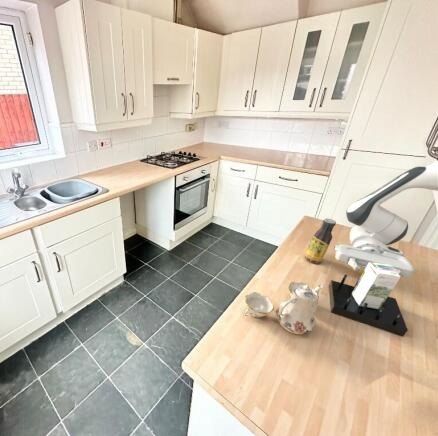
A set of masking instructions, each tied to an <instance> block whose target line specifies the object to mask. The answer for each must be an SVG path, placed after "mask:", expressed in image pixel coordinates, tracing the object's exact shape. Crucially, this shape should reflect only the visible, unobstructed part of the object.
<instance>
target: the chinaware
mask: <svg viewBox="0 0 438 436" xmlns="http://www.w3.org/2000/svg"><path fill="white" fill-rule="evenodd" d="M287 289H288V292H289V295H290V298H288V299H287V300H286V301H282V302H281V303H280V304H279V305H278V308H277V309H276V310H275V307H274V305H273V303H272V300H271V299H270V297H268V296H267V295H262V294H261V293H259V292H256V291H254V292H251V293H249V294H246V295H245V296H244V300H245V301H244V302H245V304H246V309H245V311H244V314H243V315H244V316H245V317H248V316H250V317H253V318H259V319H261V318H263V317H265V316H267V315H268V314H269V313H272V311H274V310H275V311H274V312H275V315H276V316H277V321H278V324H279V325H280V327H281V328H282V329H284V330H285V331H286V332H288V333H290V334H293V335H295V336H296V335H297V336H303V335H305V334H308V333H311V332H312V331H313V328H314V326H315V325H316V319H315V317H314V313H315V312H316V311H317V308H318V305H319V304H318V303H319V298H320V297H319V294H320V291H321V290H322V289H323V286H322V285H317V286H316V287H315V288H311V286H309V285H308V284H307V283H305V282H298V283H297V281H296V282H295V281H291V282H290V283H289V285H288V288H287ZM248 311H249V313H247V312H248Z"/></svg>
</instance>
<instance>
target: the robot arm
mask: <svg viewBox="0 0 438 436" xmlns="http://www.w3.org/2000/svg"><path fill="white" fill-rule="evenodd" d="M410 189H423V190H424V189H426V190H431V191H436V192H438V160H437V161H435V162H433V163H430V164H428V165H424V166H415V167H412V168H411V169H408V170H407V171H405V172H403V173H401V174H400V175H398V176H396V177H395V178H393V179H392V180H389V181H388V182H386V183H385V184H383V185H382V186H381V187H379V188H377V189H376V190H374V191H373V192H371V193H369V194H367V195H365V196H364V197H362V198H360V199H358V200H356V201H354V202H353V203H352V204H350V205H349V206H348V208H347V209H346V211H345V213H346V214H345V215H346V219H347V221H348V222H349V223H352V225H354V226H353V227H351V229H350V231H349V236H348V238H349V244H350V245H348V244H344V243H343V244H342V243H341V244H335V245H334V247H333V248H334V250H335V255H334V256H335V257H334V258H335V260H336V261H337V262H341V263H345V264H347V265H349V266H350V267H352V269H353V271H357V272H360V271H361V269H362V268H364V269H366V267H367V265H368V263H369V262H372V263H380V264H387V265H391V266H392V267H393V268H394V269H395V270H396V271H397V272H398V274H399V275H400V277H401V278H403V279H409V278H410V277H411V276H412V275H413V273H414V271H415V269H414V266H413V265H412V263H411V261H410V260H409V259H408V257H406V256H404V252H403V251H402V250H401V249H398V248H394V247H392V246H390V245H393V244H396V243H397V242H399V241H401V240H402V239H404V238H405V236H407V234H408V229H409V223H408V220H406V219H404V218H402V217H401V216H399V215H397V214H395V213H394V212H391V211H390V210H388V209H386V208H384V207H383V206H381V205H383V204H384V203H385V202H386V201H387V202H388V201H389V200H390V199H392V198H393V197H395V196H396V195H399V194H400V193H402V192H404V191H406V190H410Z"/></svg>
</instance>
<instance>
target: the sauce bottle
mask: <svg viewBox="0 0 438 436" xmlns="http://www.w3.org/2000/svg"><path fill="white" fill-rule="evenodd" d="M336 224H337V221H336V220H334V219H332V218H324V219H323V221H322V224H321V227H320V228H319V229H318V230H317V231H316V232H315V233H314V234H313V236H312V238H311V240H310V242H309V245H308V247H307V249H306V252H305V256H304V258H305V260H306V261H307V262H309V263H312V264H320V263H321V262H322V261H323V259H324V258H325V255H326V253H327V251H328V249H329V247H330V245H331V242H332V240H333V233H332V232H333V229H334V227H335V226H336Z"/></svg>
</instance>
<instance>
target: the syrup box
mask: <svg viewBox="0 0 438 436" xmlns="http://www.w3.org/2000/svg"><path fill="white" fill-rule="evenodd" d="M359 278H360V279H359ZM359 278H358V279H359V281H358V280H357V281H358V283H357V282H356V283H357V285H356V287H355V288H354V290H353V292H352V295H353V297H354V299H355V300H356V302H357V303H358V305H359V306H362V307H363V305H364V303H367V304H368V305H367V307H368V308H373V309H380V308H381V306H382V305H383V303H384V302H385V300H386V299H387V297H390V294H391V293H392V291H393V290H394V288H395V287H396V286H397V284H398V283H399V281H400V280H401V278H402V277H400V275H399V274H398V272H397V271H396V270H395V269H394V268H393V267H392V266H391V265H387V264H380V263H372V262H369V263H368V265H367V267H366V268H364V270H363V272H362V274H361V275H360V277H359Z"/></svg>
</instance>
